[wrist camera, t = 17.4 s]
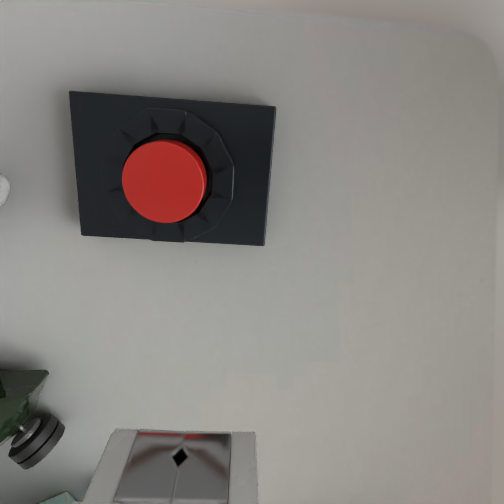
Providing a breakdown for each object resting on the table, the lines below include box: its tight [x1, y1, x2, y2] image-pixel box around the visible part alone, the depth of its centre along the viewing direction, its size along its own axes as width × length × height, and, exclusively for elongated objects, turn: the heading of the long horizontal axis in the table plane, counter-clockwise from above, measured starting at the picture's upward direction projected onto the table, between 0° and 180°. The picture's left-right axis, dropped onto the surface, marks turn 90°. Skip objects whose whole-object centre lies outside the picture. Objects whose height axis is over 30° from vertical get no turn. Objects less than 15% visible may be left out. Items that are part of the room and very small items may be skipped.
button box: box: [69, 91, 276, 246], centre depth 21 cm, size 11×8×4 cm
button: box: [122, 139, 207, 223], centre depth 19 cm, size 4×4×2 cm
